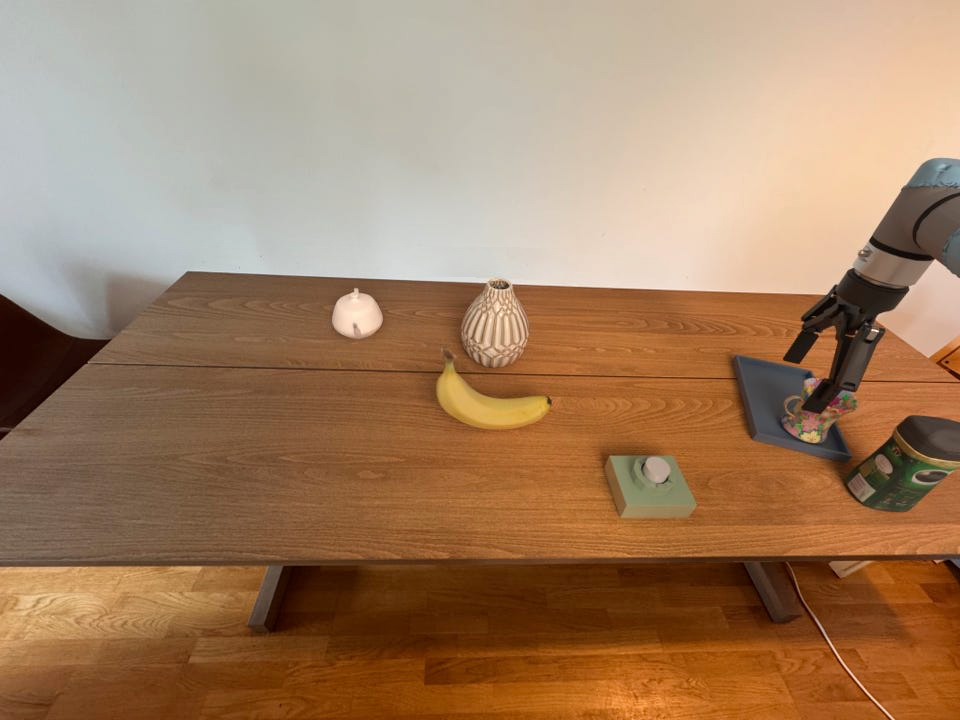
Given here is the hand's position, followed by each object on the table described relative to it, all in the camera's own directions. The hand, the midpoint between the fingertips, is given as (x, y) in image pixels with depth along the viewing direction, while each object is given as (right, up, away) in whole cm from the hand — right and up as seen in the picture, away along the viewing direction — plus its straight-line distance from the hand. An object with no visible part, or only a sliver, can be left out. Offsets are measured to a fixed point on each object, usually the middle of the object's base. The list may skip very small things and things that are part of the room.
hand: (800, 384), depth 74 cm
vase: (-54, +5, +28) cm, 61 cm away
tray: (+11, -6, +20) cm, 24 cm away
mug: (+9, -10, +14) cm, 20 cm away
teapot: (-87, +12, +33) cm, 94 cm away
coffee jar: (+16, -21, +4) cm, 26 cm away
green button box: (-27, -19, +1) cm, 33 cm away
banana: (-54, -9, +11) cm, 56 cm away
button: (-27, -15, -3) cm, 31 cm away
